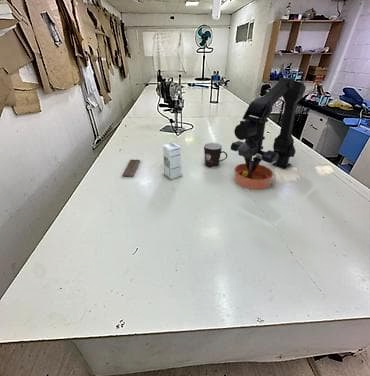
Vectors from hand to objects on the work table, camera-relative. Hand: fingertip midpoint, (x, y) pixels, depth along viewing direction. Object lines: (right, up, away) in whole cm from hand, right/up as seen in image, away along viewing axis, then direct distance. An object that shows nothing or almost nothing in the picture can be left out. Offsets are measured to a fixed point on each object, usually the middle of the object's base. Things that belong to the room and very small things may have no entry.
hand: (250, 170), depth 98 cm
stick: (0, -4, +2) cm, 5 cm away
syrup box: (-33, -3, +8) cm, 34 cm away
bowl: (+2, -5, +4) cm, 6 cm away
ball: (-1, -2, +5) cm, 6 cm away
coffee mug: (-13, +1, +17) cm, 22 cm away
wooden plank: (-53, 0, +14) cm, 54 cm away
